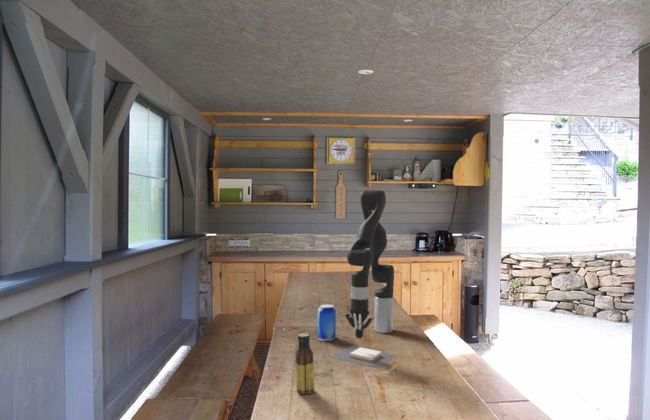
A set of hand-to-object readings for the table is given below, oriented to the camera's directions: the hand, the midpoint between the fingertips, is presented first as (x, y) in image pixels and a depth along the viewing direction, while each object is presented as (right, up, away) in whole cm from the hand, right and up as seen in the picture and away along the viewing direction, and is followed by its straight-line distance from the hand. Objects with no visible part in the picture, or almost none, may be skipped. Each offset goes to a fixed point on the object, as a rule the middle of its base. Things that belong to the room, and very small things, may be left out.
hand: (359, 337), depth 194 cm
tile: (-2, -7, +1) cm, 7 cm away
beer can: (-14, -7, +23) cm, 28 cm away
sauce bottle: (-21, -9, -35) cm, 42 cm away
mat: (+2, -8, -1) cm, 8 cm away
